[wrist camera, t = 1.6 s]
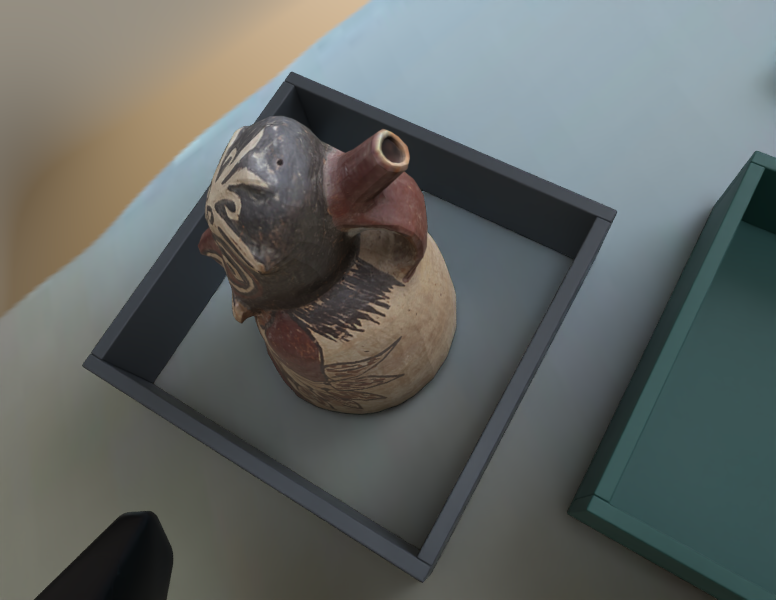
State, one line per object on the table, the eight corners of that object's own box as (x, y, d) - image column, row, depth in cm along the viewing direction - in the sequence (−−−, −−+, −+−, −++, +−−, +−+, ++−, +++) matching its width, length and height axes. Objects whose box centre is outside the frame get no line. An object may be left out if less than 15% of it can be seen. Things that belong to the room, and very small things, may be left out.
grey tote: (430, 575, 22) (423, 583, 18) (135, 388, 25) (80, 365, 22) (596, 256, 25) (617, 210, 21) (313, 128, 28) (290, 70, 25)
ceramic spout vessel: (286, 235, 27) (153, 20, 15) (461, 239, 26) (456, 13, 14) (261, 410, 24) (83, 307, 13) (453, 422, 23) (438, 322, 12)
